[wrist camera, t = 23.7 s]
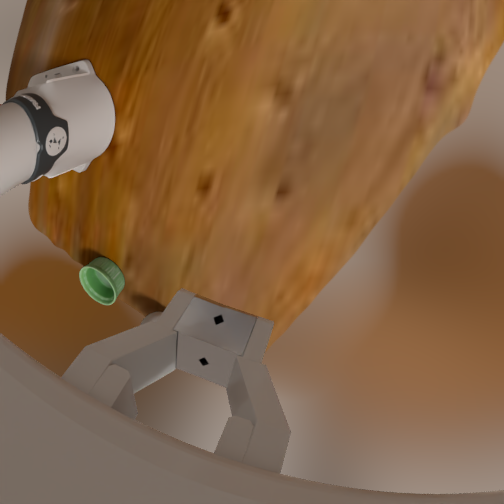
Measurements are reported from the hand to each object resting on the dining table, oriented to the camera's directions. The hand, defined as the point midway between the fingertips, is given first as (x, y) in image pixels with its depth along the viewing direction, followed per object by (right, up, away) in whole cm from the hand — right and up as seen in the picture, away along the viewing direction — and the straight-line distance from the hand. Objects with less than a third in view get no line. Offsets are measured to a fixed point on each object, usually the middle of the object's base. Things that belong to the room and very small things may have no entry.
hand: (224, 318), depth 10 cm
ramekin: (-27, -2, +49) cm, 56 cm away
